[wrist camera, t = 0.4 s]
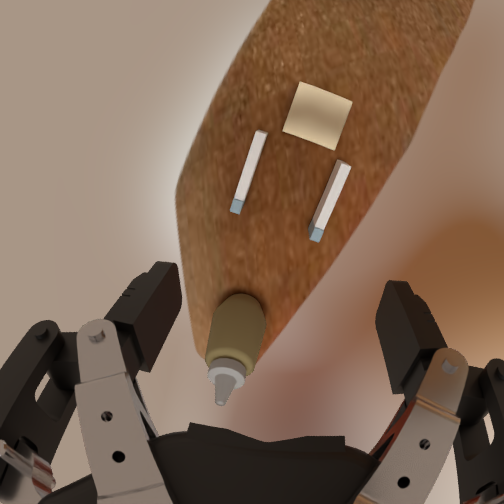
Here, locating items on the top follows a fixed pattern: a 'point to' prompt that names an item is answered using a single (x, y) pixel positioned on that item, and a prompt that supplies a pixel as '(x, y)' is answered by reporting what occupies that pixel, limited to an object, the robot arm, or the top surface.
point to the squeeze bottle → (234, 343)
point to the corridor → (326, 200)
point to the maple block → (317, 115)
